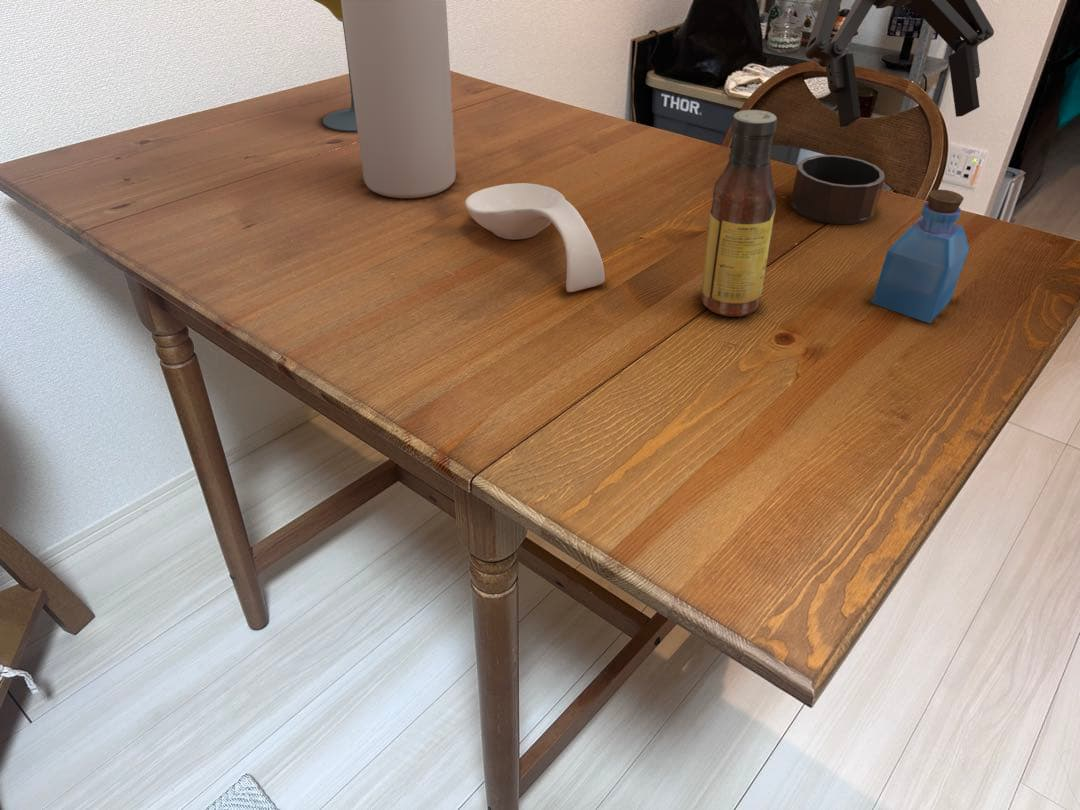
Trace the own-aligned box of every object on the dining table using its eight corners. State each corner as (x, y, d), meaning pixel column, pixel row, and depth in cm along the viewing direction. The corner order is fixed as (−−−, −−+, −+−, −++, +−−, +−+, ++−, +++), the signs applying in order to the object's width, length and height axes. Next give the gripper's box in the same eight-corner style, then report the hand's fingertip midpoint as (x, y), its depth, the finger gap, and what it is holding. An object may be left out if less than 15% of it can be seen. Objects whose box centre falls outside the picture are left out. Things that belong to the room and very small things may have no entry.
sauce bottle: (770, 309, 86) (811, 120, 74) (728, 326, 83) (762, 133, 71) (726, 283, 90) (757, 101, 78) (684, 299, 87) (710, 112, 75)
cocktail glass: (377, 96, 142) (358, -69, 126) (434, 123, 131) (422, -53, 115) (280, 117, 132) (248, -58, 117) (333, 148, 122) (306, -40, 106)
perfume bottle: (929, 323, 84) (968, 214, 77) (871, 303, 87) (903, 197, 80) (950, 300, 88) (989, 195, 80) (893, 281, 91) (926, 178, 83)
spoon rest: (451, 219, 103) (447, 164, 98) (533, 201, 107) (533, 147, 103) (542, 304, 86) (543, 242, 82) (634, 278, 91) (639, 219, 86)
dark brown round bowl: (872, 196, 110) (882, 159, 106) (876, 229, 101) (887, 191, 98) (791, 187, 112) (798, 151, 109) (789, 218, 104) (797, 181, 101)
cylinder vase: (418, 158, 119) (401, -34, 104) (474, 182, 112) (466, -19, 97) (346, 181, 112) (317, -21, 96) (402, 209, 105) (380, -4, 90)
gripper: (965, -70, 90) (989, 120, 91) (756, -60, 86) (782, 138, 87) (1015, -113, 83) (1041, 94, 83) (789, -105, 79) (818, 113, 79)
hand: (909, 117), depth 85 cm, fingers open, 13 cm apart
